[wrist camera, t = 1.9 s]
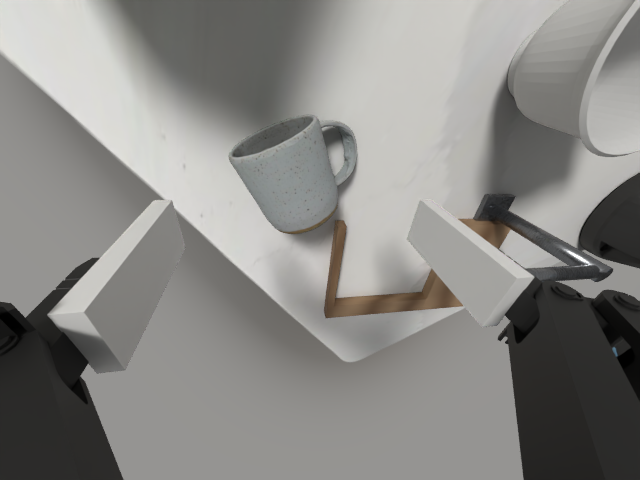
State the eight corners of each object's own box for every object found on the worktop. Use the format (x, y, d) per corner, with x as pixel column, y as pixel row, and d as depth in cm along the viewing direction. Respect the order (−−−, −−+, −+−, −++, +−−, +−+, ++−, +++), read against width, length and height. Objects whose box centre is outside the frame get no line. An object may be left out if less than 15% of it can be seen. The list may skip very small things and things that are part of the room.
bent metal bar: (511, 194, 31) (652, 262, 19) (496, 221, 33) (615, 297, 21) (389, 193, 28) (471, 273, 16) (382, 223, 30) (449, 312, 18)
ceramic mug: (273, 213, 27) (275, 253, 20) (232, 141, 22) (218, 166, 16) (361, 174, 26) (391, 204, 20) (338, 93, 21) (368, 98, 15)
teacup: (530, 163, 29) (634, 197, 20) (450, 94, 23) (549, 103, 15) (635, 53, 23) (829, 39, 15) (565, -73, 18) (819, -205, 9)
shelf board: (504, 218, 33) (513, 223, 31) (458, 299, 41) (464, 306, 40) (335, 220, 28) (338, 227, 27) (324, 310, 37) (325, 318, 36)
